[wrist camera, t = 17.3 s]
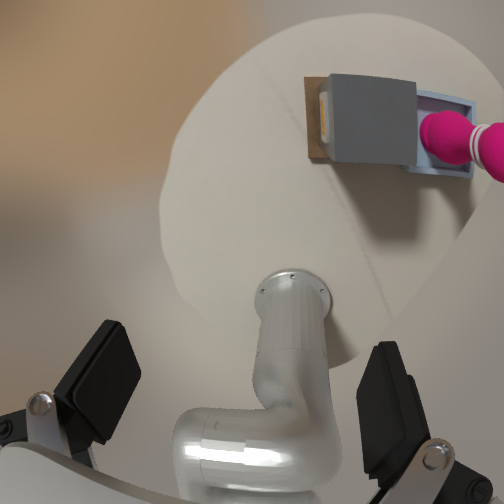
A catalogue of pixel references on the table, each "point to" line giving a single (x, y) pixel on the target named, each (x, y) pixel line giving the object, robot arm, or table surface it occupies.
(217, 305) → the table surface
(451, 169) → the parts tray
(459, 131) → the pepper mill
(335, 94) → the control unit
